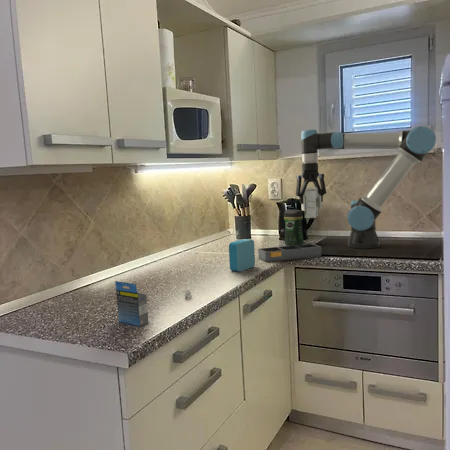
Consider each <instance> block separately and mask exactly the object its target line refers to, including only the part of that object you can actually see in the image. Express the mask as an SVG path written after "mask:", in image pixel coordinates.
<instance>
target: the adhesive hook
mask: <svg viewBox="0 0 450 450" xmlns="http://www.w3.org/2000/svg"><path fill="white" fill-rule="evenodd" d="M182 292H183V293H184V294H185V295H183V296H184V299H185V300H186V299H188V300H190V299H192V298H193V295H192V293H191V290H190V289H185V290H182Z"/></svg>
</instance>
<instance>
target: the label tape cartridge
mask: <svg viewBox="0 0 450 450" xmlns="http://www.w3.org/2000/svg"><path fill="white" fill-rule="evenodd" d="M114 284H115V292H116V294H115V295H116V303H117V314H118V315H117V317H118V322H119V323H124V324H127V325H131V326H132V325H133V326H137V327H142V326H144V325H147V324H148V323H149V313H148V310H149V309H148V299H147V298H148V297H147V294H144V293H141V292H138V289H137V283H132V282H131V283H130V282H123V281H118V280H115V281H114ZM125 287H127V288H125Z"/></svg>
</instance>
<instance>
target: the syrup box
mask: <svg viewBox="0 0 450 450" xmlns="http://www.w3.org/2000/svg"><path fill="white" fill-rule="evenodd" d="M318 196H319V194H318V188H316V187H315V186H310V187H306V190H305V193H304V196H303V197H305V211H304V218H305V219H316V218H318V217H319V209H318Z"/></svg>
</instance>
